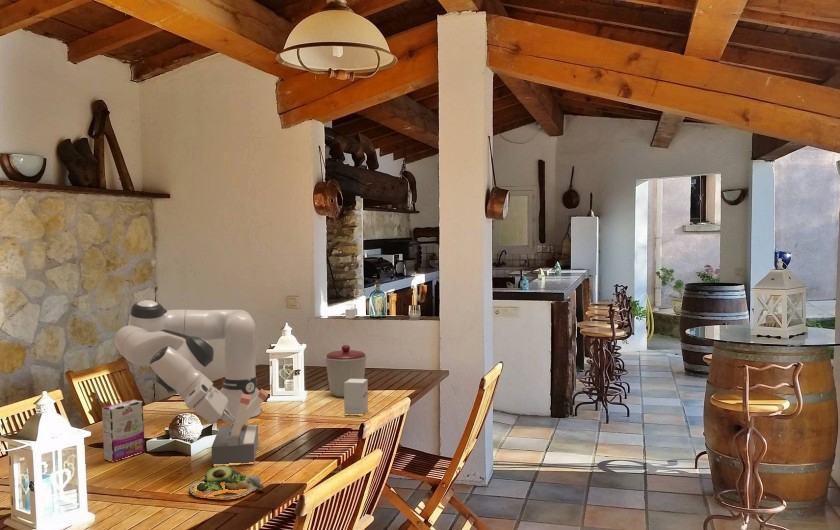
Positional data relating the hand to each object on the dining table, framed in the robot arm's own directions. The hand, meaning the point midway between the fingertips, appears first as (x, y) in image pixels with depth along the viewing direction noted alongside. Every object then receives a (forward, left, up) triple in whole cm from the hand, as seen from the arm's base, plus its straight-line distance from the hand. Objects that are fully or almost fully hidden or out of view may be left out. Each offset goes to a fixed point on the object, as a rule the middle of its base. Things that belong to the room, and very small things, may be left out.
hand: (233, 422), depth 205 cm
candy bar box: (-31, -18, -12) cm, 38 cm away
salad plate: (+16, -14, -13) cm, 25 cm away
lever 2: (-12, +10, -5) cm, 16 cm away
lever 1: (0, 0, -5) cm, 5 cm away
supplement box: (-11, +62, -12) cm, 64 cm away
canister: (-36, +81, -12) cm, 89 cm away
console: (-6, +5, -12) cm, 14 cm away
